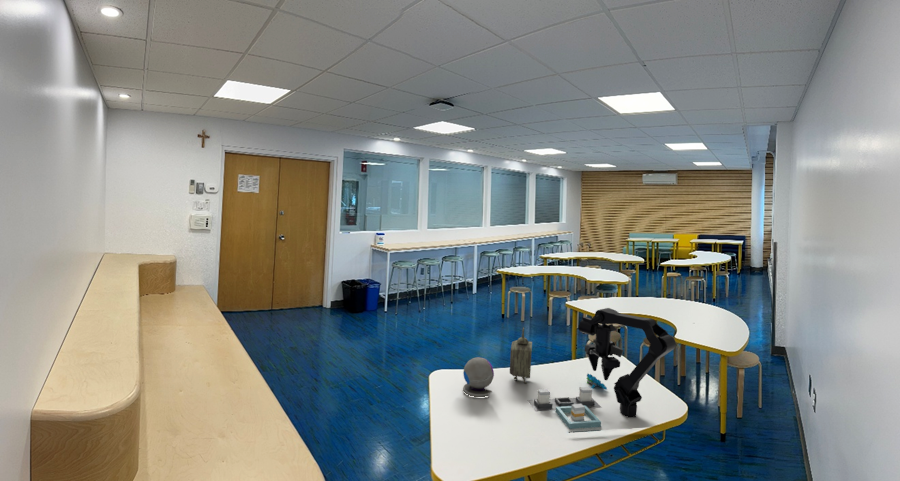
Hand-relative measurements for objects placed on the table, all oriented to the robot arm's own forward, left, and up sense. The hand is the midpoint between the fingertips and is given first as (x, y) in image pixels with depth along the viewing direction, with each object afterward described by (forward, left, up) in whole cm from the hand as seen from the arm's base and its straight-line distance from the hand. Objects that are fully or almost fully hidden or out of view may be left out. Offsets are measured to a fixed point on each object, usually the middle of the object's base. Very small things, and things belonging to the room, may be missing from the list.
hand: (600, 375), depth 182 cm
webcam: (+15, +48, -12) cm, 52 cm away
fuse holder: (-2, +16, -12) cm, 20 cm away
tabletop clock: (+24, +26, -12) cm, 37 cm away
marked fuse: (-14, +16, -11) cm, 24 cm away
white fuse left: (-2, +25, -10) cm, 27 cm away
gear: (+12, -5, -12) cm, 18 cm away
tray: (-14, +16, -12) cm, 24 cm away
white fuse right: (-2, +7, -10) cm, 13 cm away
